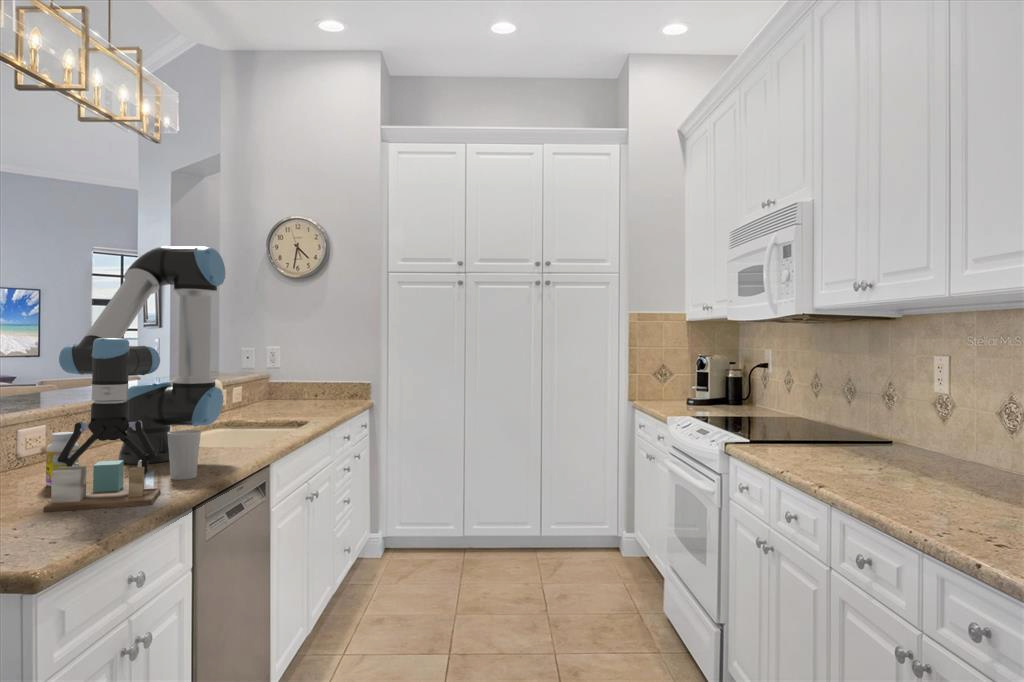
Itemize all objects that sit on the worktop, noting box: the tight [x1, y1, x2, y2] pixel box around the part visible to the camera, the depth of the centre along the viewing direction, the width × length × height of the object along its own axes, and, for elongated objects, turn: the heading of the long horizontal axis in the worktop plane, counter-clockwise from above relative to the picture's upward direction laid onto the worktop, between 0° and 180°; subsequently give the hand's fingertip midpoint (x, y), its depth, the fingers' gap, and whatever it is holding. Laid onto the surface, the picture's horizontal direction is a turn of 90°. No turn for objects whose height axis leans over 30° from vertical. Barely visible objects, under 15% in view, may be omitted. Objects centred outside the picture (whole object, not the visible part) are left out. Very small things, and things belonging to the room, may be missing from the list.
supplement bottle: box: [45, 431, 80, 487], centre depth 157 cm, size 7×7×13 cm
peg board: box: [43, 465, 161, 513], centre depth 142 cm, size 12×20×8 cm, turn 111°
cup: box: [167, 429, 202, 481], centre depth 168 cm, size 8×8×12 cm
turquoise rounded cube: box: [92, 460, 125, 492], centre depth 152 cm, size 5×5×7 cm
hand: (107, 489), depth 152 cm, fingers open, 13 cm apart
